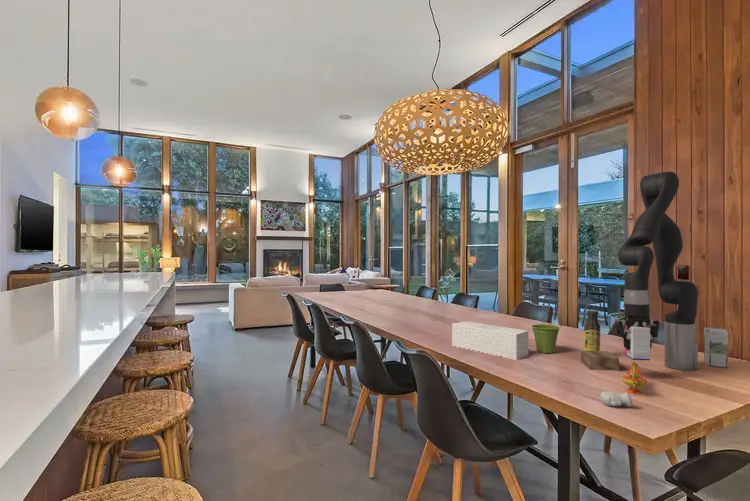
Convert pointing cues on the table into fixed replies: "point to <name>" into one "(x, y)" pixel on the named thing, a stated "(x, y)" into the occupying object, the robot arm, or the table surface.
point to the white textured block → (491, 339)
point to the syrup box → (716, 347)
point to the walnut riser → (599, 360)
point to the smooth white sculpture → (615, 399)
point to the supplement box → (639, 344)
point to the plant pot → (545, 337)
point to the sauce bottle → (591, 332)
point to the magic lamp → (634, 380)
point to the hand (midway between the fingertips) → (637, 349)
